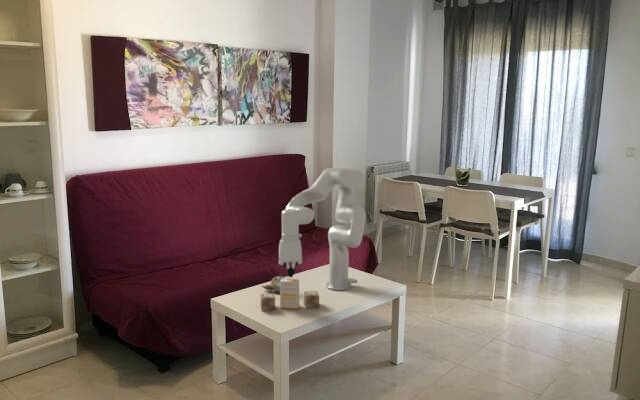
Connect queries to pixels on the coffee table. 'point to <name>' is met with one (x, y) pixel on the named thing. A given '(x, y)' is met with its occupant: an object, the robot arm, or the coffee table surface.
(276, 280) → the ceramic sculpture
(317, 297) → the walnut block
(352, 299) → the coffee table surface
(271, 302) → the walnut block
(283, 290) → the supplement box
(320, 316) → the coffee table surface
